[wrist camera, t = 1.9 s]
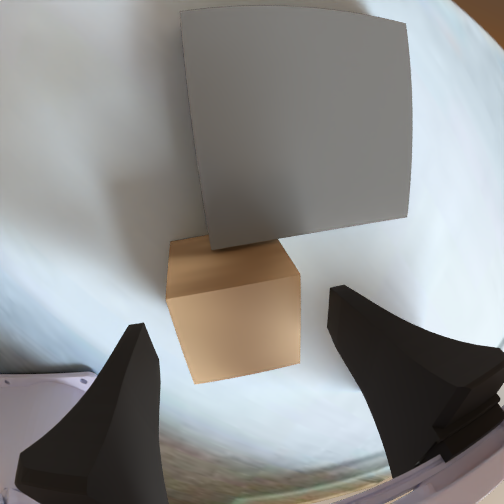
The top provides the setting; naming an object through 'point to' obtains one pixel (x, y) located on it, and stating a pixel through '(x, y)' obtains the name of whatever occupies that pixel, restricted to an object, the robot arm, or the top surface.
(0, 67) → the top surface
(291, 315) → the oak block
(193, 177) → the top surface
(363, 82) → the slate base
